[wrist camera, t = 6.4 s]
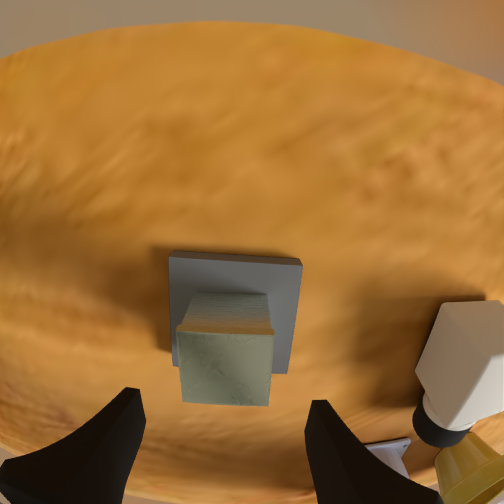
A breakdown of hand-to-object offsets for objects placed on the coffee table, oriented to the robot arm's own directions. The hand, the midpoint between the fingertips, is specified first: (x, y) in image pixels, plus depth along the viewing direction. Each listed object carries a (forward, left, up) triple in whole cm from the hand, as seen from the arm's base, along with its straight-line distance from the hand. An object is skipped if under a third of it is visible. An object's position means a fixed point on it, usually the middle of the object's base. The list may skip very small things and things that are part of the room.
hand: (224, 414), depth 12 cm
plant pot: (-21, -29, -10) cm, 37 cm away
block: (0, 0, -10) cm, 10 cm away
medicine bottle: (+1, -19, -5) cm, 20 cm away
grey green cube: (0, 0, -8) cm, 8 cm away
